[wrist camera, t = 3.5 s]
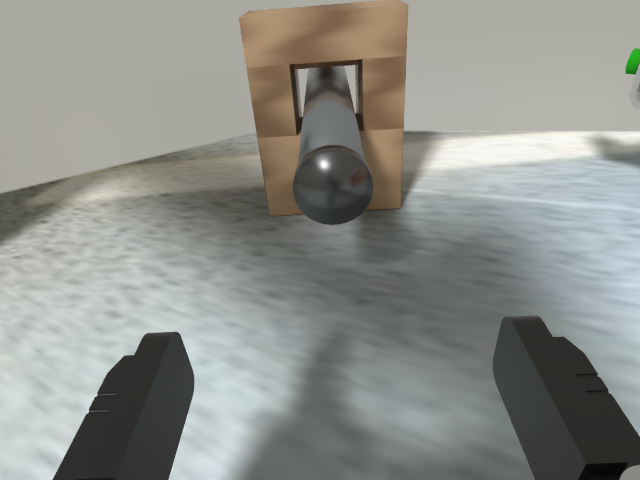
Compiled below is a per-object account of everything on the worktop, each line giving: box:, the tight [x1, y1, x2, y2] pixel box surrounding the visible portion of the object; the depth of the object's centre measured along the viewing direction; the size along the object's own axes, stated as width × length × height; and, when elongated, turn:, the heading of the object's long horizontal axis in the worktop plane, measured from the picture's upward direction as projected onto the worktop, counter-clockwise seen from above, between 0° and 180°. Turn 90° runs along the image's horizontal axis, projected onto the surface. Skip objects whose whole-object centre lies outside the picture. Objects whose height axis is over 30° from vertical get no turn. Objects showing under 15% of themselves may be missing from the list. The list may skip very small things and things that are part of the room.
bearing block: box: [239, 0, 408, 216], centre depth 31 cm, size 10×4×14 cm, turn 90°
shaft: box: [293, 66, 373, 225], centre depth 27 cm, size 21×3×3 cm, turn 0°
